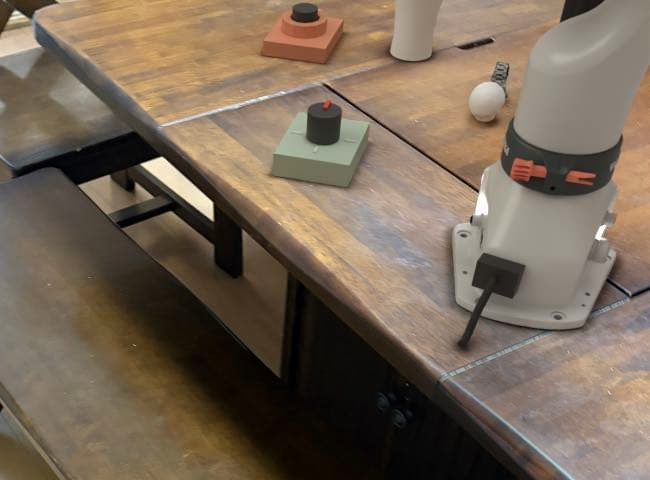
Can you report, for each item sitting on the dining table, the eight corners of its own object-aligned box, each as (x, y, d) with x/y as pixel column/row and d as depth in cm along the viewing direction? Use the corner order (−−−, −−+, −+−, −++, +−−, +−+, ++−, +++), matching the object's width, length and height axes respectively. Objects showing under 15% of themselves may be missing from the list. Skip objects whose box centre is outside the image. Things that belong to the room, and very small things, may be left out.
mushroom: (499, 129, 121) (507, 92, 118) (464, 125, 122) (471, 89, 118) (501, 113, 124) (509, 77, 121) (467, 109, 125) (474, 73, 121)
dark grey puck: (313, 26, 135) (314, 14, 134) (289, 23, 136) (289, 10, 134) (320, 16, 137) (321, 4, 136) (295, 13, 138) (296, 1, 137)
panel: (347, 187, 112) (349, 164, 109) (272, 175, 113) (273, 151, 111) (367, 144, 119) (370, 121, 116) (297, 133, 121) (298, 110, 118)
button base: (324, 63, 135) (326, 36, 132) (262, 55, 137) (263, 27, 134) (342, 33, 142) (344, 6, 139) (283, 26, 144) (284, -1, 141)
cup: (372, 63, 135) (383, -37, 124) (382, 36, 141) (393, -61, 131) (440, 70, 133) (457, -30, 123) (447, 43, 140) (463, -55, 129)
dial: (335, 147, 112) (337, 117, 109) (302, 142, 113) (303, 112, 110) (343, 131, 115) (345, 102, 112) (310, 126, 115) (312, 97, 112)
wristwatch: (482, 106, 129) (486, 90, 124) (494, 72, 128) (499, 55, 123) (502, 112, 128) (507, 96, 123) (514, 77, 128) (520, 60, 123)
